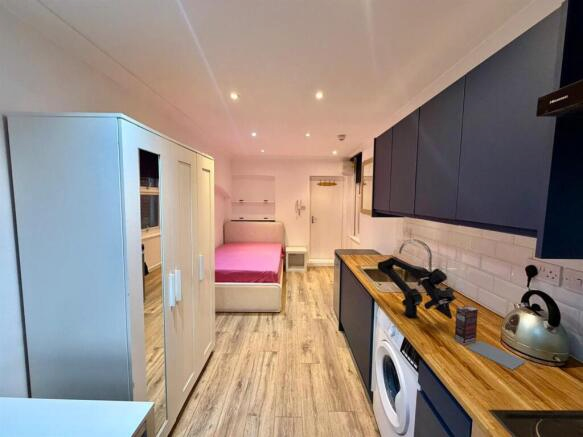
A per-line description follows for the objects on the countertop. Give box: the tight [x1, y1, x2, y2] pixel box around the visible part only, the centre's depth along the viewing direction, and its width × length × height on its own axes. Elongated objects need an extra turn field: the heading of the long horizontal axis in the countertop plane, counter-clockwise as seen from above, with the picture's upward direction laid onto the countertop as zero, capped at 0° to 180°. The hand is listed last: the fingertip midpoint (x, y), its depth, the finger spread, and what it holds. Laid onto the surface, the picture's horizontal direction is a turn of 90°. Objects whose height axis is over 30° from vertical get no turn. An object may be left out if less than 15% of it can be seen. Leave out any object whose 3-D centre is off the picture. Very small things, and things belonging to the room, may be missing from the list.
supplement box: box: [454, 305, 479, 346], centre depth 120 cm, size 9×5×16 cm, turn 111°
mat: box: [465, 340, 527, 371], centre depth 109 cm, size 17×12×1 cm
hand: (451, 318), depth 125 cm, fingers closed
